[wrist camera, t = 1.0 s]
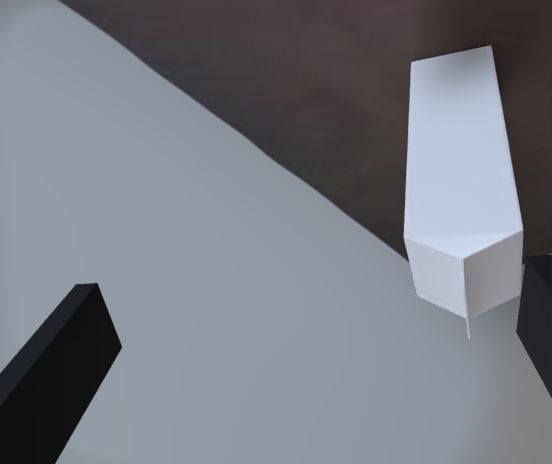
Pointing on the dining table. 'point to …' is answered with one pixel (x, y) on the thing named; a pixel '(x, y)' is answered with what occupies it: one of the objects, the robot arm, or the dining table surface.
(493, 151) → the milk
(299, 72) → the dining table surface
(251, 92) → the dining table surface
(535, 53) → the dining table surface
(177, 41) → the dining table surface
